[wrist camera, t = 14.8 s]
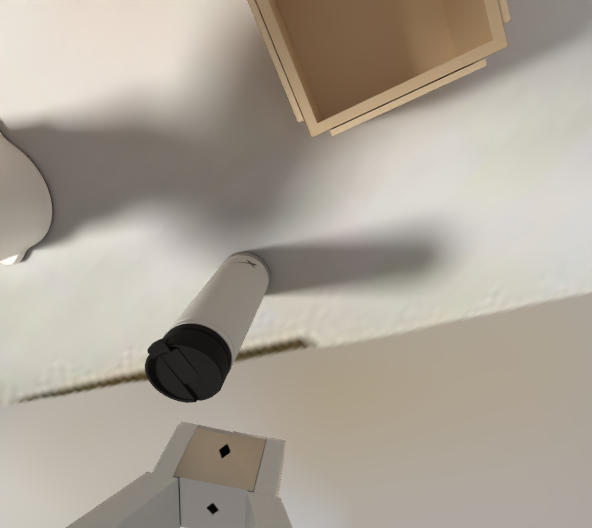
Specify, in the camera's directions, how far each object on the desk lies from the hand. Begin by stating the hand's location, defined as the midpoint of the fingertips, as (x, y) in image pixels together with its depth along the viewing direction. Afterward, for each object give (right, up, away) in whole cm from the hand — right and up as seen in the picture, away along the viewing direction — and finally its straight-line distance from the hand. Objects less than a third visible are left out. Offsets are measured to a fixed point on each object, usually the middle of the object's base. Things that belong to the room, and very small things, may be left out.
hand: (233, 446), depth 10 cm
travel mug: (-5, +4, +36) cm, 37 cm away
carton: (+8, +28, +24) cm, 38 cm away
